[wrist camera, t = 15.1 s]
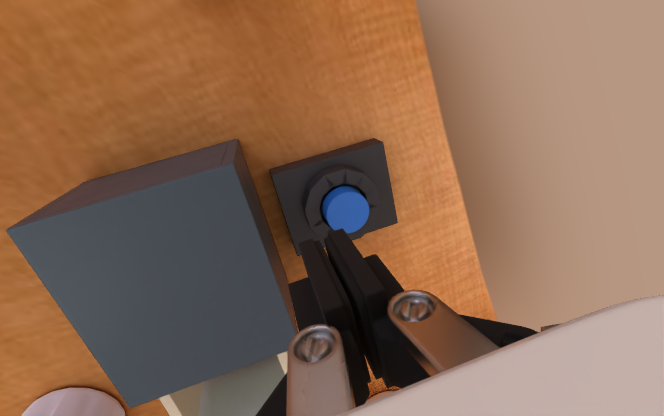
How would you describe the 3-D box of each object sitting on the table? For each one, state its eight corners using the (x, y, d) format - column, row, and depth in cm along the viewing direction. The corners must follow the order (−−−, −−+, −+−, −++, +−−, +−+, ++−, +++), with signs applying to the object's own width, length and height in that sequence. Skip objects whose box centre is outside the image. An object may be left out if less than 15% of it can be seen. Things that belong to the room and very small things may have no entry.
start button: (328, 230, 30) (332, 239, 28) (317, 193, 28) (321, 199, 27) (366, 218, 30) (373, 225, 28) (358, 180, 29) (364, 186, 27)
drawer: (318, 385, 39) (334, 453, 32) (220, 423, 38) (213, 503, 30) (266, 242, 32) (272, 289, 24) (141, 282, 30) (109, 344, 23)
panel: (294, 245, 33) (300, 266, 30) (269, 169, 30) (272, 181, 27) (389, 214, 35) (405, 230, 31) (374, 137, 31) (391, 145, 28)
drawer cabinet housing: (287, 279, 34) (300, 346, 26) (161, 321, 33) (130, 409, 24) (238, 138, 29) (233, 163, 20) (83, 182, 27) (4, 230, 18)
